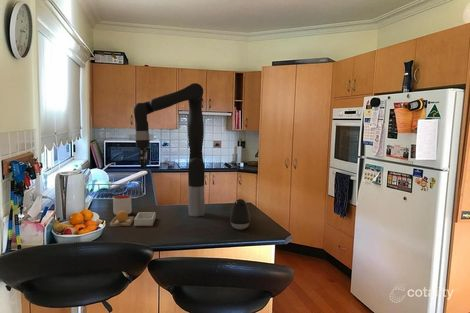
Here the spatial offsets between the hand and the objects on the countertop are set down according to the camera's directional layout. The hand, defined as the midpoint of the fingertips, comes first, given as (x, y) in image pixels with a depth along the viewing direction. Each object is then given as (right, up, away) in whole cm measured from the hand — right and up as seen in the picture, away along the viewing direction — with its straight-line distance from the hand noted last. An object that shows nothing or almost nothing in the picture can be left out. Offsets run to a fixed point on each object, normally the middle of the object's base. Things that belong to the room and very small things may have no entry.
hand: (143, 167), depth 186 cm
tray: (-9, -29, -10) cm, 32 cm away
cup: (-14, -27, +7) cm, 32 cm away
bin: (+3, -29, -9) cm, 30 cm away
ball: (-9, -26, -11) cm, 29 cm away
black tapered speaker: (+54, -31, -17) cm, 65 cm away
